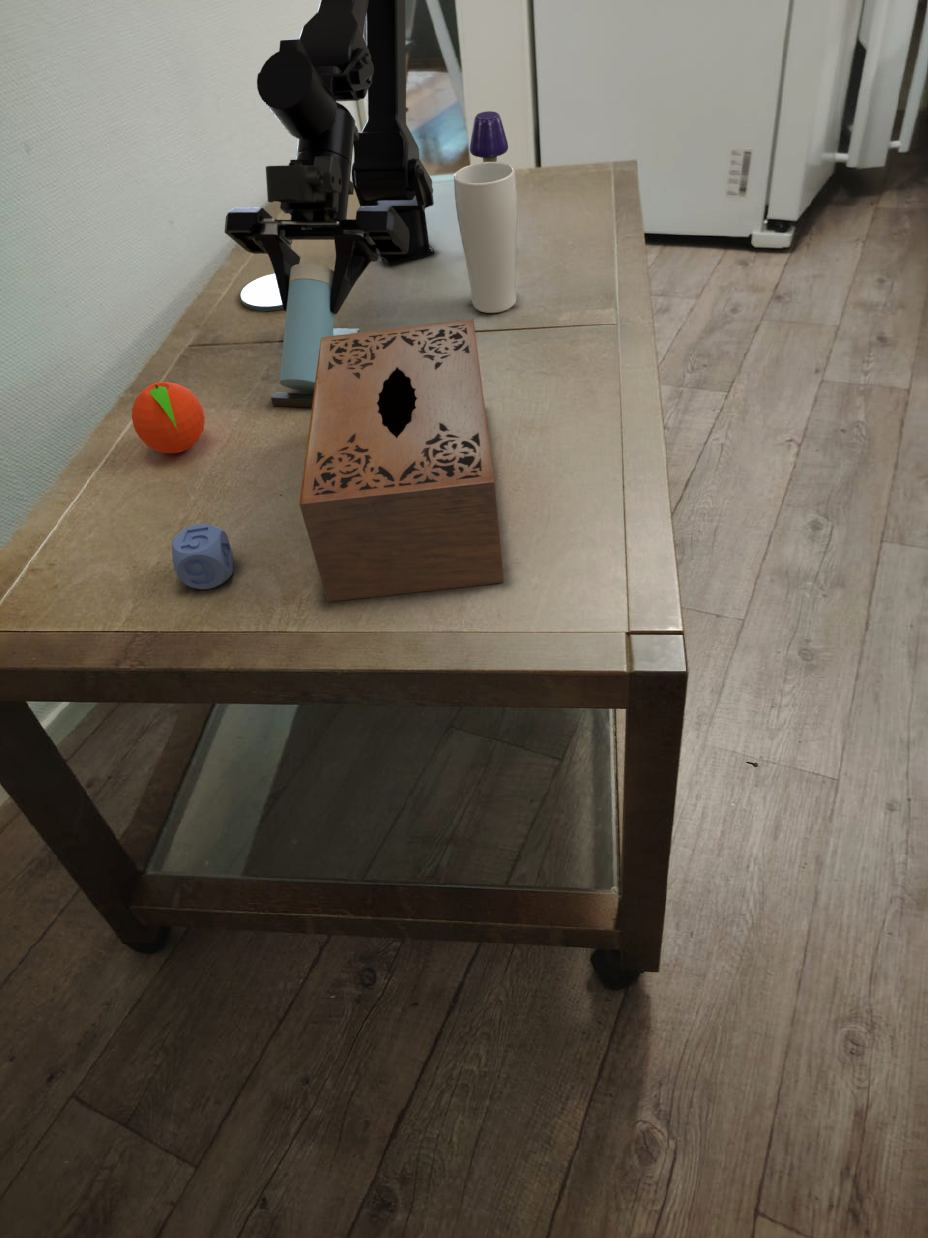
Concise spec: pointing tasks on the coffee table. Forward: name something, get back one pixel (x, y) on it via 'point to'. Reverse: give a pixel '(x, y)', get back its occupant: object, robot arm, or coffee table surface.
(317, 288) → the plastic bottle
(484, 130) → the toy lamp
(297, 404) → the cradle
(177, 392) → the clementine
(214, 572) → the decorative dice
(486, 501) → the tissue box cover
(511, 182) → the drinking glass
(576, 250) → the coffee table surface
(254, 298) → the coaster
